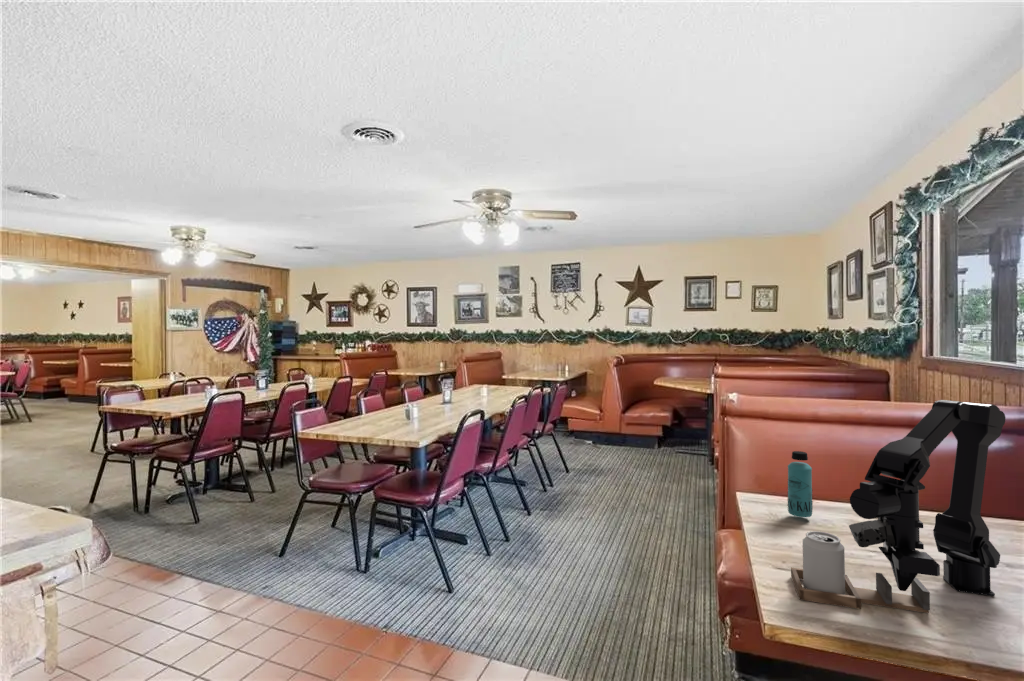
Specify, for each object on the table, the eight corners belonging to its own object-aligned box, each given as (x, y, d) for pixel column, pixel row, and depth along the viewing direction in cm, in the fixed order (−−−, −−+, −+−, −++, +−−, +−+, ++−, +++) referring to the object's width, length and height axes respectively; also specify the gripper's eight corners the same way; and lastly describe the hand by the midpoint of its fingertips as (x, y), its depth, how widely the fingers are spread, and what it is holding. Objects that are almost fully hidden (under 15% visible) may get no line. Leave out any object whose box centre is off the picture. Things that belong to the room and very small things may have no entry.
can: (844, 606, 98) (843, 546, 98) (800, 594, 103) (800, 537, 103) (846, 590, 104) (845, 534, 104) (805, 580, 108) (804, 526, 109)
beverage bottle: (789, 513, 150) (788, 448, 151) (815, 518, 146) (813, 451, 146) (785, 519, 145) (784, 452, 145) (811, 524, 141) (810, 455, 141)
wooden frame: (913, 593, 102) (912, 573, 102) (935, 620, 92) (934, 597, 92) (791, 576, 110) (790, 557, 110) (799, 599, 100) (799, 578, 100)
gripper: (841, 494, 110) (842, 564, 110) (866, 523, 93) (868, 606, 93) (902, 499, 106) (903, 572, 106) (940, 531, 89) (942, 617, 88)
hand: (902, 590), depth 98 cm, fingers closed
